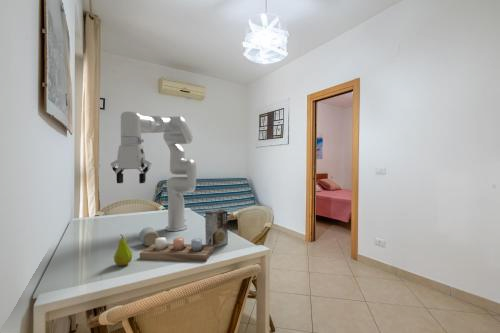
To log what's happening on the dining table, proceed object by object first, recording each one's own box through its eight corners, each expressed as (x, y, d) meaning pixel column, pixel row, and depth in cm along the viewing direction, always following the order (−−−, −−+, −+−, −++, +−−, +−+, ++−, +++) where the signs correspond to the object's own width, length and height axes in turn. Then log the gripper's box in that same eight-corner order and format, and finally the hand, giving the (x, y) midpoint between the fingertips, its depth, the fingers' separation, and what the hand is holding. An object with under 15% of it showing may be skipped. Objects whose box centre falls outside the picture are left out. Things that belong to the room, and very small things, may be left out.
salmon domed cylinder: (176, 246, 100) (175, 237, 101) (185, 247, 100) (185, 237, 100) (171, 250, 96) (171, 240, 96) (181, 250, 96) (181, 241, 96)
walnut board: (155, 248, 106) (155, 243, 106) (214, 250, 102) (214, 244, 102) (139, 258, 94) (139, 252, 94) (206, 261, 91) (206, 255, 91)
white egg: (158, 246, 101) (158, 237, 101) (168, 246, 101) (168, 237, 101) (153, 249, 97) (153, 240, 97) (163, 250, 97) (163, 240, 97)
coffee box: (220, 240, 116) (220, 209, 116) (228, 243, 111) (228, 210, 112) (204, 245, 110) (204, 211, 110) (212, 248, 105) (212, 213, 105)
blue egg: (193, 247, 100) (193, 238, 100) (203, 247, 99) (203, 238, 99) (189, 250, 95) (189, 241, 95) (200, 251, 95) (200, 241, 95)
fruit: (136, 262, 90) (136, 231, 90) (124, 269, 84) (124, 236, 84) (122, 260, 92) (122, 230, 92) (109, 267, 86) (109, 235, 86)
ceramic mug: (143, 248, 106) (143, 231, 106) (138, 244, 112) (139, 228, 112) (166, 244, 112) (166, 228, 112) (160, 240, 119) (161, 225, 119)
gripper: (155, 142, 98) (155, 182, 98) (117, 143, 100) (117, 182, 100) (146, 140, 91) (146, 183, 91) (105, 141, 92) (105, 183, 92)
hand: (131, 183), depth 95 cm, fingers open, 9 cm apart
